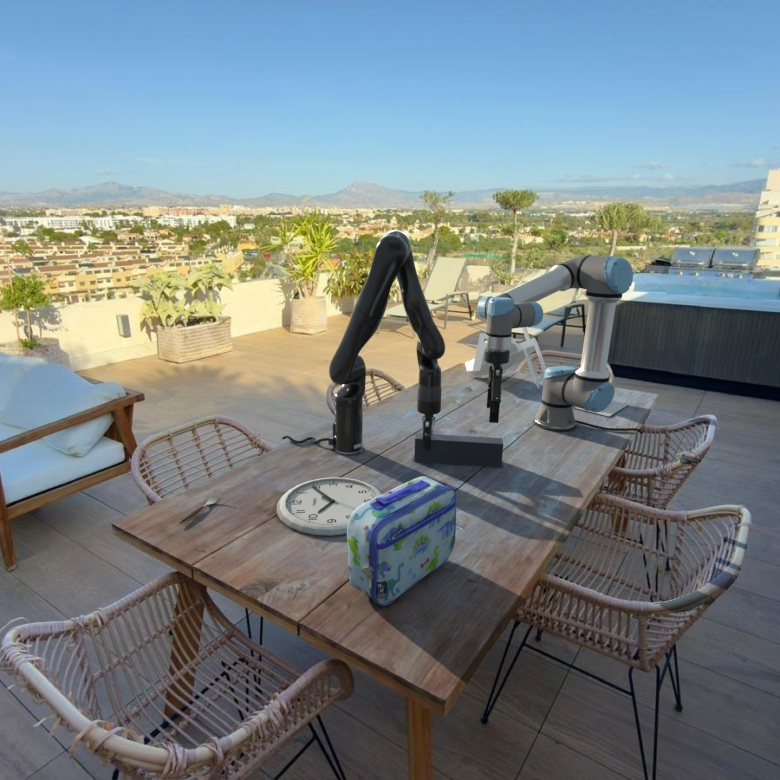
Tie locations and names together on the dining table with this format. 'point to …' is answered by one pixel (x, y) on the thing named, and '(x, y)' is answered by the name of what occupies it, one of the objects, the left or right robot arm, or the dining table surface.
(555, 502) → the dining table surface
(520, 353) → the white plastic object
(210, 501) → the fork
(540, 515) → the dining table surface
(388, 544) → the lunch box
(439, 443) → the beam
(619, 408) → the invitation card
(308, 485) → the wall clock
